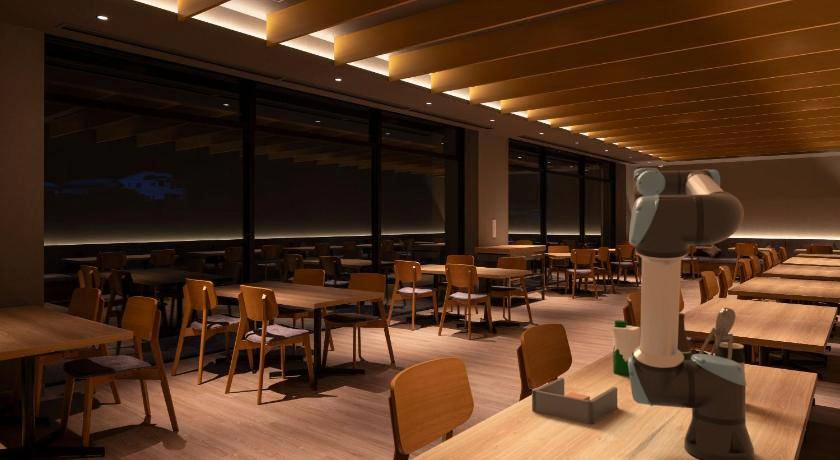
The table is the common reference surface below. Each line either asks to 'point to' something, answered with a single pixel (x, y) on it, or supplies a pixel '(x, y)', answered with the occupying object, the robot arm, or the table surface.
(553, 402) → the bin
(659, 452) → the table surface
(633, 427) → the table surface
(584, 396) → the tile block
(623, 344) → the milk carton
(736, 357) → the travel mug
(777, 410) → the table surface
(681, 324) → the beer bottle
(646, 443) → the table surface
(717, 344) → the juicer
